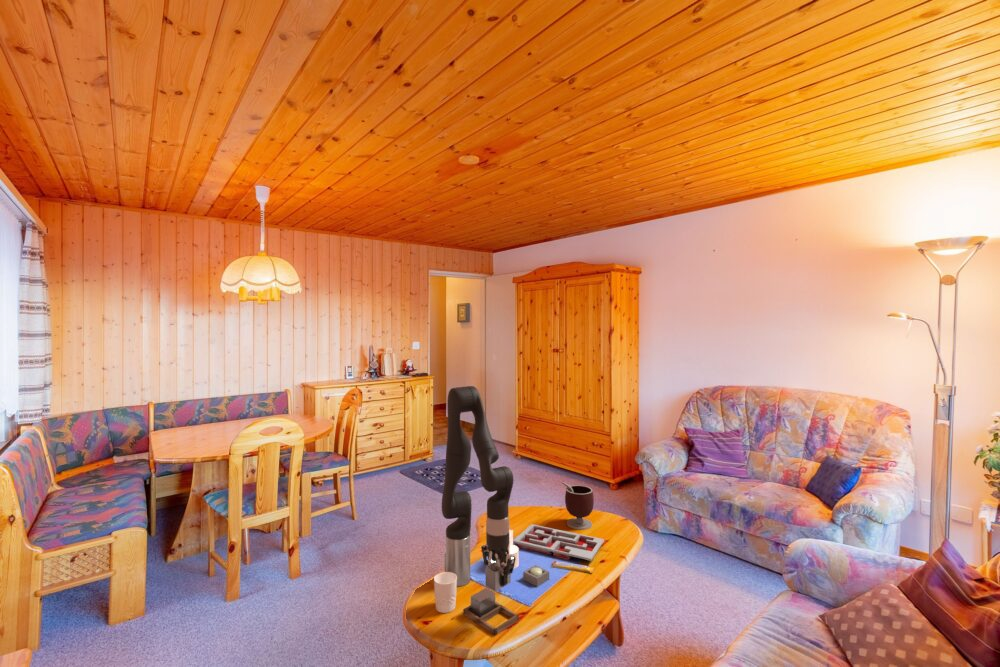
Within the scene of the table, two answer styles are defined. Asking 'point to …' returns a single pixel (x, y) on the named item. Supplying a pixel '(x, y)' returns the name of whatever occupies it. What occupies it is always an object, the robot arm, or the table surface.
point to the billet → (494, 576)
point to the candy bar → (573, 567)
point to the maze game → (558, 542)
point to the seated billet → (482, 602)
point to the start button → (536, 571)
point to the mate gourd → (579, 505)
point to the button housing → (536, 579)
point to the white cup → (445, 591)
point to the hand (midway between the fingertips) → (498, 582)
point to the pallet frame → (483, 619)
